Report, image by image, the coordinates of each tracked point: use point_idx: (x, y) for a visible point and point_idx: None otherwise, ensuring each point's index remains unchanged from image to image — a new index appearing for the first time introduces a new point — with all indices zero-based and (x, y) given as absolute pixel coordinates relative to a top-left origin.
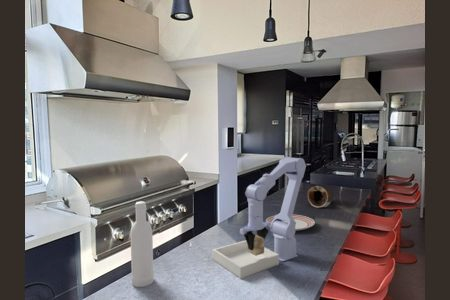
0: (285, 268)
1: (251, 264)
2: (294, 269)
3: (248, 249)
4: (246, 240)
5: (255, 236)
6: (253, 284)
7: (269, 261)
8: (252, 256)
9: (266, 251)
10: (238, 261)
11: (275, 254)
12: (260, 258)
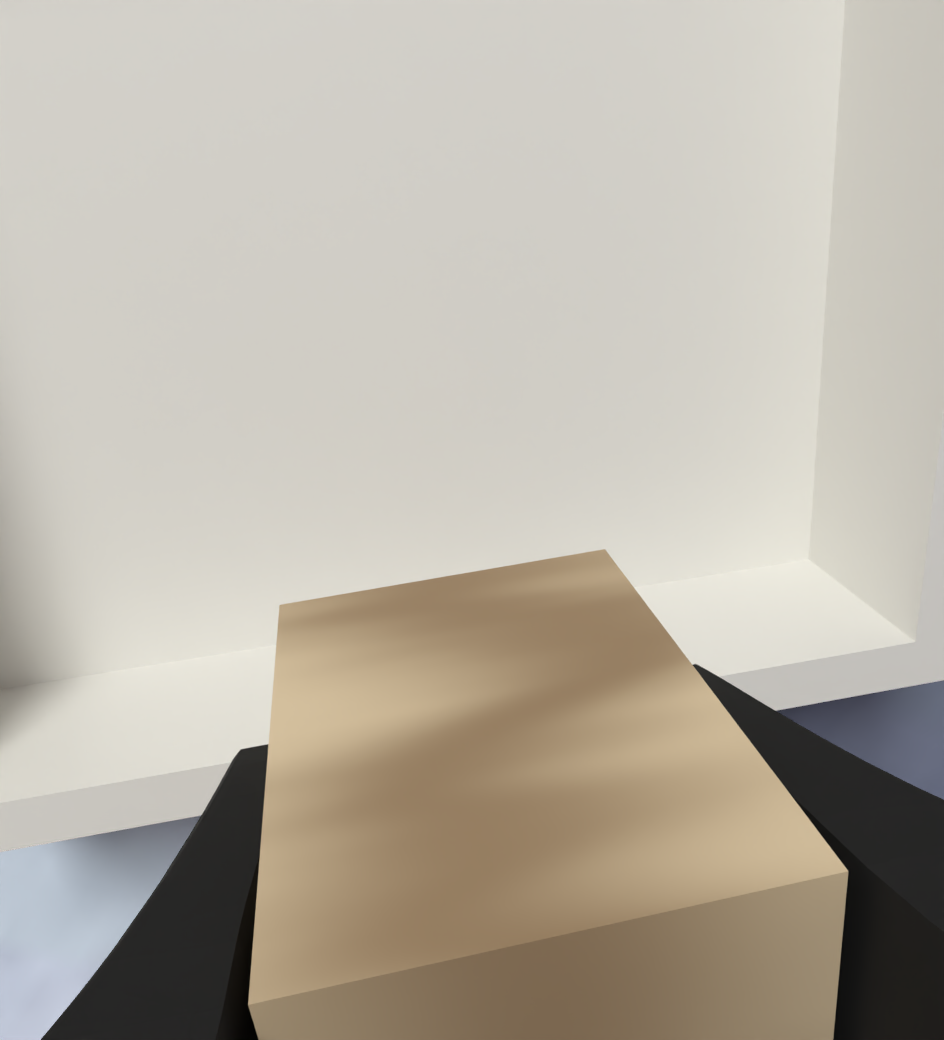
0: (821, 704)
1: (201, 802)
2: (894, 770)
3: (278, 655)
4: (94, 993)
5: (663, 994)
6: (114, 904)
7: None
8: (650, 67)
9: (919, 341)
10: (209, 133)
11: (901, 652)
12: (728, 257)
